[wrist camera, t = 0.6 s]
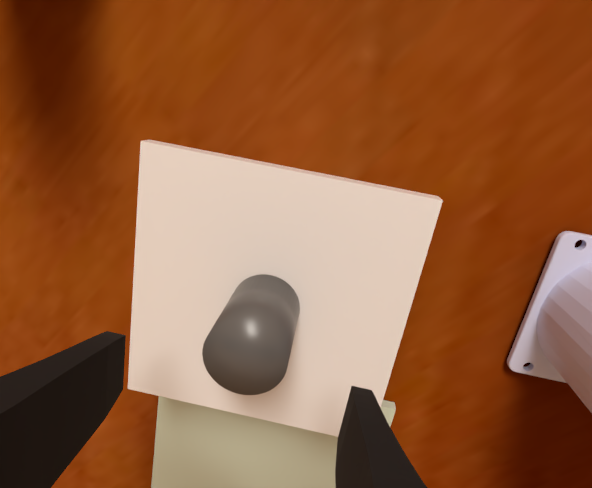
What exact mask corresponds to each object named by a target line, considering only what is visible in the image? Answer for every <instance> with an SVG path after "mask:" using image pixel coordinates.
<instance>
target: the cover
mask: <svg viewBox="0 0 592 488" xmlns="http://www.w3.org/2000/svg"><path fill="white" fill-rule="evenodd" d="M442 202H443V200H442V199H441V198H440V197H439V196H434V195H429V194H424V193H419V192H414V191H409V190H404V189H399V188H394V187H389V186H384V185H378V184H373V183H368V182H363V181H358V180H353V179H348V178H343V177H338V176H333V175H328V174H322V173H317V172H312V171H307V170H302V169H297V168H292V167H287V166H282V165H277V164H271V163H266V162H261V161H256V160H251V159H246V158H241V157H236V156H231V155H226V154H221V153H215V152H210V151H205V150H200V149H195V148H190V147H185V146H180V145H175V144H170V143H165V142H159V141H154V140H144V141H141V146H140V165H139V184H138V202H137V221H136V240H135V259H134V278H133V297H132V316H131V335H130V354H129V373H128V389H131V390H135V391H140V392H144V393H149V394H153V395H157V396H162V397H166V398H170V399H175V400H179V401H184V402H188V403H192V404H197V405H201V406H206V407H210V408H214V409H219V410H223V411H227V412H232V413H236V414H241V415H245V416H249V417H254V418H258V419H263V420H267V421H271V422H276V423H280V424H284V425H289V426H293V427H298V428H302V429H306V430H311V431H315V432H320V433H324V434H328V435H333V436H337V437H338V435H339V431H340V428H341V424H342V420H343V416H344V413H345V409H346V405H347V401H348V398H349V394H350V390H351V386H356V387H360V388H365V389H369V390H372V392H373V393H374V395H375V397H376V399H377V402H378V404H379V406H380V408H381V405H382V401H383V398H384V395H385V391H386V388H387V385H388V381H389V378H390V375H391V371H392V368H393V365H394V361H395V358H396V355H397V351H398V348H399V345H400V341H401V338H402V335H403V331H404V328H405V325H406V321H407V318H408V315H409V311H410V308H411V305H412V301H413V298H414V295H415V291H416V288H417V285H418V281H419V278H420V275H421V271H422V268H423V265H424V261H425V258H426V255H427V252H428V248H429V245H430V242H431V238H432V235H433V232H434V228H435V225H436V222H437V218H438V215H439V212H440V208H441V205H442Z"/></svg>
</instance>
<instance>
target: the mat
mask: <svg viewBox="0 0 592 488" xmlns="http://www.w3.org/2000/svg"><path fill="white" fill-rule="evenodd" d="M381 410H382V412H383V414H384V416H385V418H386V420H387V422H388V424H389V426H391V423H392V420H393V417H394V414H395V411H396V408H395V402H390V401H386V400H383V401H382V405H381ZM337 441H338V437H337V436H333V435H328V434H324V433H320V432H315V431H311V430H306V429H302V428H298V427H293V426H289V425H284V424H280V423H276V422H271V421H267V420H263V419H258V418H254V417H249V416H245V415H241V414H236V413H232V412H227V411H223V410H219V409H214V408H210V407H206V406H201V405H197V404H192V403H188V402H184V401H179V400H175V399H170V398H166V397H162V396H159V400H158V412H157V424H156V436H155V448H154V460H153V472H152V484H151V488H336V483H335V467H336V453H337Z"/></svg>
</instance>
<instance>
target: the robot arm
mask: <svg viewBox="0 0 592 488" xmlns="http://www.w3.org/2000/svg"><path fill="white" fill-rule="evenodd" d="M578 240H582V244H581V245H580V246H579V247H577V248H575V243H576V242H577V241H578ZM125 336H126V335H121V334H117V333H112V332H108V331H107V332H104V333H101V334H99V335H97V336H94V337H92V338H90V339H88V340H85V341H83V342H81V343H79V344H77V345H74V346H72V347H70V348H68V349H66V350H63V351H61V352H59V353H57V354H55V355H52V356H50V357H48V358H46V359H43V360H41V361H38V362H36V363H34V364H31V365H29V366H26V367H24V368H21V369H19V370H16V371H14V372H11V373H9V374H6V375H4V376H1V377H0V488H51V487H52V485H53V484H54V483H55V481H56V480H57V479H58V478H59V476H60V475H61V474H62V472H63V471H64V470H65V469H66V467H67V466H68V465H69V464H70V462H71V461H72V460H73V459H74V457H75V456H76V455H77V454H78V452H79V451H80V450H81V449H82V447H83V446H84V445H85V444H86V442H87V441H88V440H89V438H90V437H91V436H92V435H93V433H94V432H95V431H96V430H97V428H98V427H99V426H100V424H101V423H102V422H103V420H104V419H105V418H106V416H107V415H108V413H109V411H110V410H111V408H112V407H113V405H114V403H115V402H116V400H117V398H118V397H119V395H120V393H121V391H122V390H123V377H124V356H125ZM526 363H530V365H529V366H527V367H523V366H524V364H526ZM507 364H508V366H509V368H510V369H511V370H512V371H514V372H518V373H522V374H527V375H531V376H536V377H541V378H545V379H550V380H555V381H559V382H564V383H567V384H568V385H569V386H570V387H571V389H572V390H573V391H574V392H575V393H576V395H577V396H578V397H579V398H580V400H581V401H582V402H583V403H584V405H585V406H586V407H587V408H588V409H589V411H590V412H591V413H592V235H588V234H582V233H577V232H572V231H565V232H562V233H560V234H559V235H558V236H557V238H556V240H555V242H554V245H553V247H552V250H551V252H550V255H549V257H548V260H547V262H546V264H545V267H544V269H543V272H542V274H541V277H540V279H539V282H538V284H537V287H536V289H535V292H534V294H533V297H532V299H531V302H530V304H529V306H528V309H527V311H526V314H525V316H524V319H523V321H522V324H521V326H520V329H519V331H518V334H517V336H516V339H515V341H514V344H513V346H512V349H511V351H510V353H509V356H508V358H507ZM335 483H336V488H427V487H426V485H425V484H424V483H423V481H422V480H421V478H420V477H419V475H418V474H417V472H416V471H415V469H414V467H413V466H412V464H411V463H410V461H409V460H408V458H407V456H406V455H405V453H404V451H403V450H402V448H401V446H400V444H399V442H398V441H397V439H396V437H395V435H394V434H393V432H392V430H391V428H390V426H389V424H388V422H387V420H386V418H385V416H384V414H383V412H382V410H381V408H380V406H379V404H378V402H377V399H376V397H375V395H374V393H373V392H372V390H369V389H365V388H360V387H356V386H351V390H350V394H349V398H348V401H347V405H346V409H345V413H344V416H343V420H342V424H341V428H340V431H339V435H338V441H337V453H336V467H335Z"/></svg>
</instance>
